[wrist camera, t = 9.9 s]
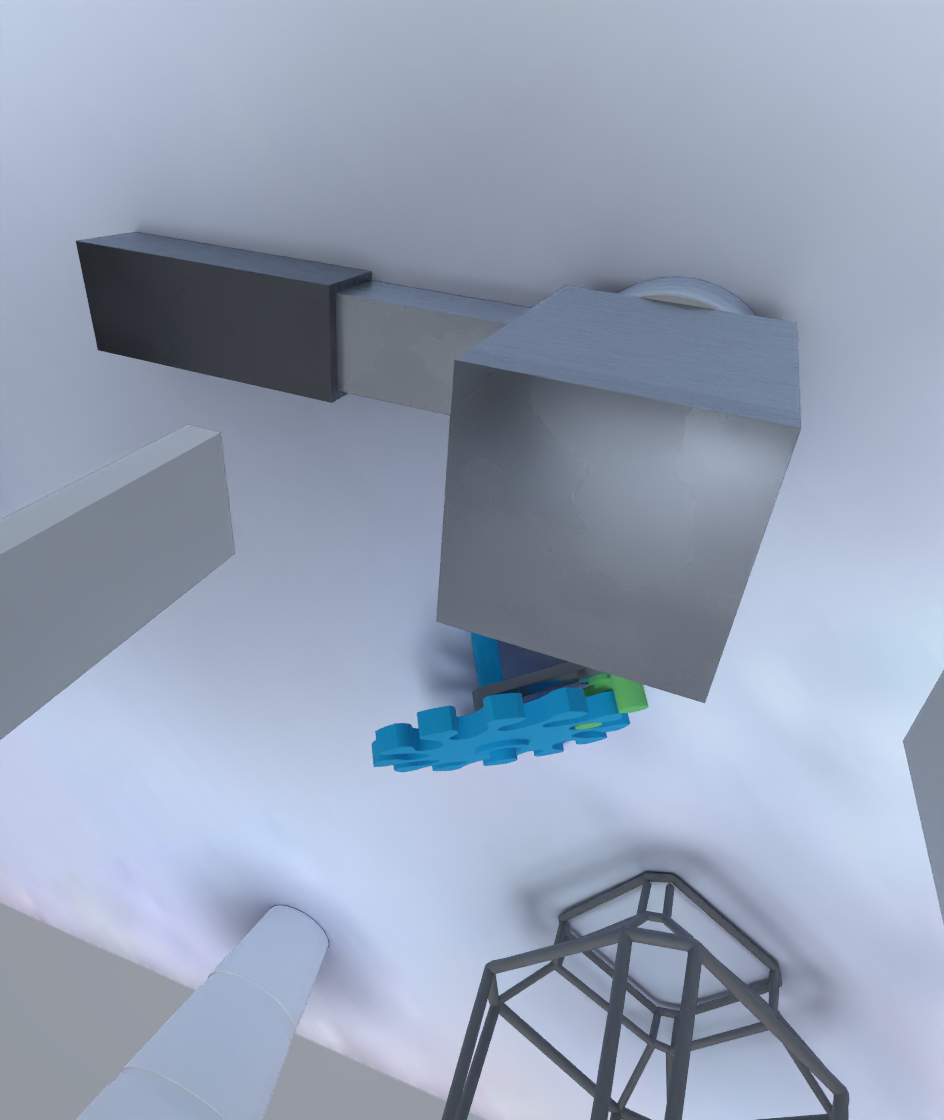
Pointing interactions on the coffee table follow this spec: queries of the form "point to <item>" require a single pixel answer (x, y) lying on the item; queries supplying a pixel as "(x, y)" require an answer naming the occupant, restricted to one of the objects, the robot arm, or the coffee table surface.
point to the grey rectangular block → (616, 480)
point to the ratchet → (301, 319)
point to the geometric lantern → (683, 1019)
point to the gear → (511, 716)
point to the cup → (225, 1032)
